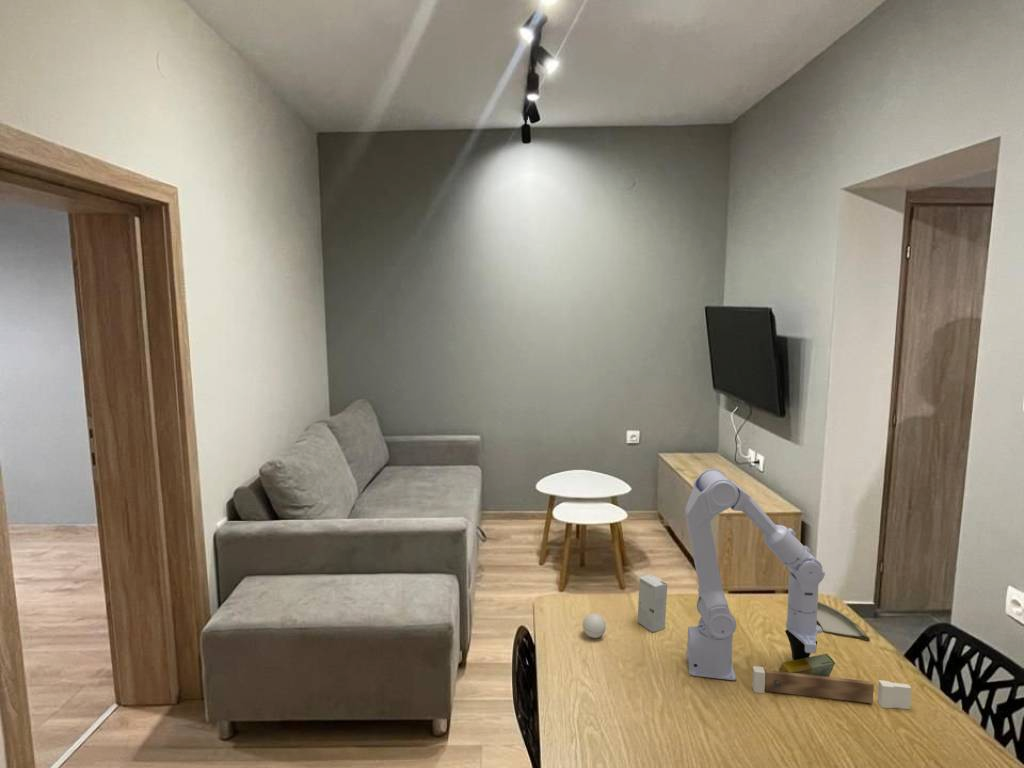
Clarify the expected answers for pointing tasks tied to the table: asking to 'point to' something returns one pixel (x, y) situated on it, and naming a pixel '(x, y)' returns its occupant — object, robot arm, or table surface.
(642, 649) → the table surface
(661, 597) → the skincare box
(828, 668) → the medication box
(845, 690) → the brown wooden plank
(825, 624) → the ceramic fragment
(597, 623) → the white ball
